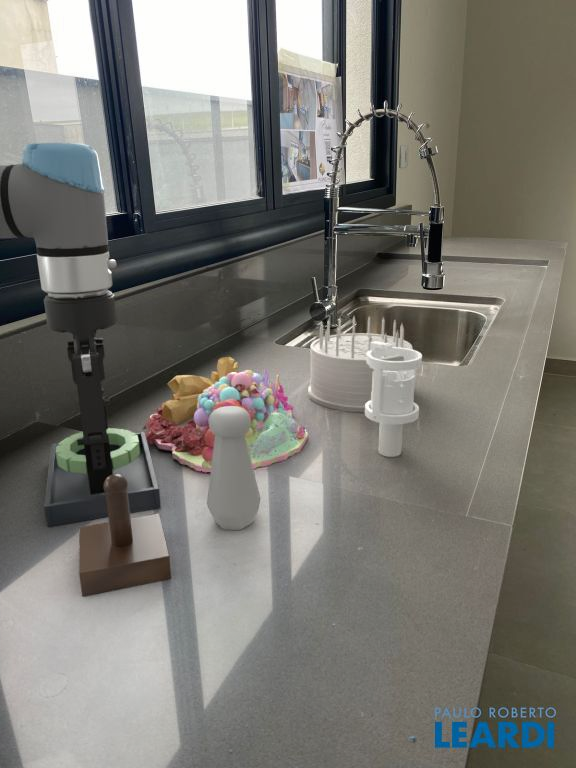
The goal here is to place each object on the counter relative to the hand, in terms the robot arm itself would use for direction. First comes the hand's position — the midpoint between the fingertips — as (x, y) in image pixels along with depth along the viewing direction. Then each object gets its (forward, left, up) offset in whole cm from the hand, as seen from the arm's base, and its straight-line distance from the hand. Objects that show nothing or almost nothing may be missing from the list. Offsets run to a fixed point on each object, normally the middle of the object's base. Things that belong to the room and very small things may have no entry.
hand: (101, 472), depth 75 cm
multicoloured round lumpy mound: (+19, +10, -2) cm, 21 cm away
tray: (0, 0, -1) cm, 1 cm away
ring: (0, 0, +2) cm, 2 cm away
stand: (+2, -18, -1) cm, 18 cm away
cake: (+44, +19, -2) cm, 48 cm away
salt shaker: (+14, -14, -2) cm, 20 cm away
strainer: (+38, -4, -2) cm, 38 cm away
